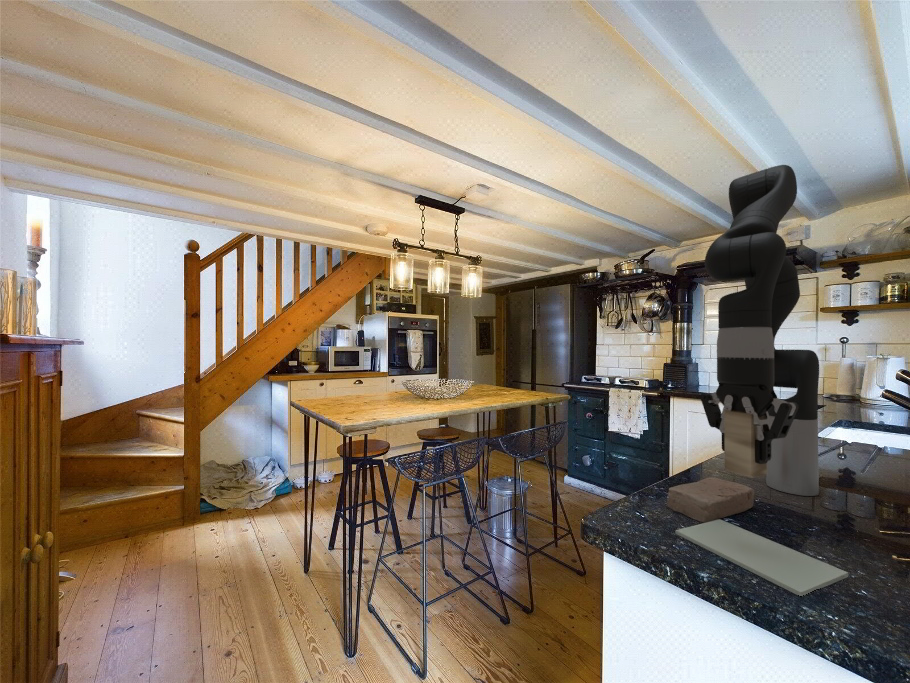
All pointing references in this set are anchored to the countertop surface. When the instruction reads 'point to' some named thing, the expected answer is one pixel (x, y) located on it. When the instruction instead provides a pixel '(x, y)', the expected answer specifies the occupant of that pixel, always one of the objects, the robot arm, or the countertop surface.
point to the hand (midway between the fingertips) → (745, 458)
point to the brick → (710, 499)
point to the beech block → (741, 445)
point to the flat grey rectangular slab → (764, 557)
